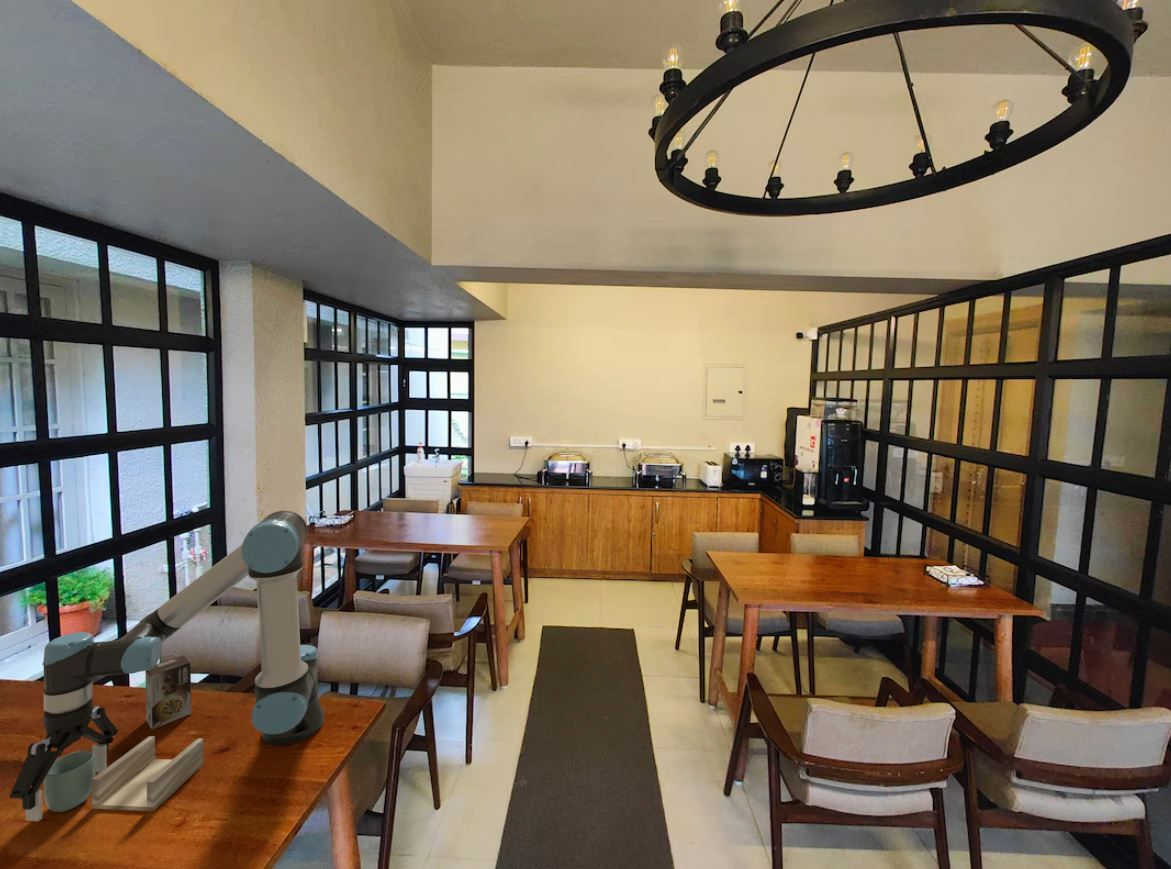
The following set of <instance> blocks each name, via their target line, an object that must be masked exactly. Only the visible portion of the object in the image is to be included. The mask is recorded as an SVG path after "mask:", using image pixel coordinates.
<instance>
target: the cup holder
mask: <svg viewBox="0 0 1171 869" xmlns="http://www.w3.org/2000/svg"><path fill="white" fill-rule="evenodd" d="M155 757H156V737H155V736H147V737H146V738H144V739H143V740H142V741H141V742H140V743H138V744H137V745H135V746H134V747H133V748H131V749H130V750H128V752H126V753H125V754H124V755H122V756H121V757H119V758H118V759H117V760H116V761H114V762H113V763H112V764H110V765H109V766H107V768H106V769H105V770H103V771H102V772H98V774H97V775H95V777H94V778H93V779H92V792H91V809H93V810H94V809H95V810H111V811H112V810H114V811H115V810H116V811H117V810H118V811H119V810H120V811H139V812H140V811H141V812H154V811H155V810H157V808H159V806H161V805H162V804H163V803H164V802H165V801H166V800H167V799H169V797H170V796H172V795H173V794H174V793H175V792H176V791H178V789H179V788H180V787H181V786H182V785H184V784H185V783H186V782H187V781H188V780H189V779H190V778H191V777H192V776H193V775H194V774H195V773H196V772H198V770H200V769H201V768H202V767H203V766H204V738H200V737H199V738H196V739H195V740H194V741H192V742H191V744H190V745H189V744H188V746H187V747H186V748H185V749H183V750H182V751H181V752H180V753H179V754H177V756H175V757H174V758H172V759H164V758H163V759H161V758H160V759H159V758H155Z"/></svg>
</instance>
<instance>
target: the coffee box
mask: <svg viewBox="0 0 1171 869" xmlns="http://www.w3.org/2000/svg"><path fill="white" fill-rule="evenodd" d="M191 669H192V664H191V661H190V660H189V659H188V657H186V656H185V655H181V656H177V657H174V658H172V659H171V658H170V659H168V660H165V661H162V662H158V663H157V664H156V666H155V667H154V668H152V669H150V670H147V671H144V674H145V711H146V713H145V715H146V716H145V717H146V723H147V724H148V726H149V728H150V729H151V730H155V729H157V728H159V727H162V726H165V725H167V724H169V723H172V722H175V721H177V720H179V719H182V718H184V717H186V716H189V715H191V714H192V713H193V712H192V676H191V671H192V670H191Z"/></svg>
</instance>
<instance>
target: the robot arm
mask: <svg viewBox="0 0 1171 869" xmlns="http://www.w3.org/2000/svg"><path fill="white" fill-rule="evenodd" d="M307 535H308V525H307V522H306V520H305V519H304V518H303V517H302V516H301V515H300V514H299V513H297V512H295V511H291V510H279V511H275V512H272V513H269V514H268V515H267V516H266V517H264V518H263V519H262V520H260V522H259V523H257V524H256V525H254V526H253V527H252V528H251V529H250V530H249V531H248V532H247V533H246V536H245V538H243V541H242V544H240V545H239V546H237V547H236V548H235V549H234V550H232V551H231V552H230V553H228V554H227V555H226V556H225V557H224V558H222V559H221V560H220V561H218V562H216V563H215V564H214V565H213V566H211V568H209V569H207V570H206V571H205V572H204V573H203V574H201V575H199V577H197V578H196V579H195V580H193V581H192V582H191V583H189V584H188V585H187V586H185V587H184V588H183V589H182V590H180V591H179V592H177V593H176V594H175V595H173V596H172V597H171V598H169V600H168V599H167V601H165V603H163V604H162V605H160V606H159V607H158V608H157V609H155V610H154V611H153V612H151V613H149V614H147V615H146V616H144V617H143V618H142V619H141V620H140V621H139V622H138V623H137V624H136V625H135V626H133V628H131V629H130V630H129V631H128V632H127V633H125V635H124V636H122V637H120V639H117V640H107V641H106V640H105V641H95V639H94V636H93V634H92V633H90V632H84V631H80V632H73V633H68V634H64V635H62V636H59V637H56V638H54V639H52V640H51V641H49V642H48V643H47V644H46V645H45V646H44V652H43V653H44V654H43V661H42V666H43V710H44V711H43V729H44V730H45V731H46V736H45V738H44V739H43V740H41V741H39V742H32V743H30V744H29V745H28V746H27V747H28V748H27V753H26V754H27V755H26V758H25V760H24V763H23V765H22V767H21V770H20V771H19V773H18V776H17V778H16V780H15V783H14V784H13V787H12V789H11V791H10V794H9V798H10V799H17V800H18V799H19V800H20V799H21V800H22V801H21V806H22V807H21V808H22V810H23V811H24V810H25V822H26V821H28V822H29V821H30V822H40V821H41V820H42V819H43V789H42V788H40V787H41V785H42V784H43V783H44V779H45V777H46V775H47V774H48V772H49V770H50V769H51V767H52V765H53V764H54V762H55V760H57V759H58V757H59V756H61V755H62V754H63V753H64V751H65V750H66V749H68V748H69V747H70V746H71V745H73V744H74V743H76V742H78V741H79V740H81V738H84V739H88V740H90V741H92V742H95V744H94V745H92V746H91V748H92V749H91V751H92V752H93V753H94V755H95V773H101V772H102V771H103V770H105V769H106V768H107V767H108V764H107V755H108V754H109V749H110V748H109V746H110V745H109V744H112V742H114V739H115V738H114V736H117V734H118V733H119V732H118V731H119V730H118V728H117V727H116V726H115V725H114V723H113V722H112V721H111V720H110V718H109V717H108V716H107V714H106V710H105V707H103V706H93V705H94V704H93V703H94V702H93V701H94V700H93V696H94V690H93V683H94V682H93V678H98V677H108V676H118V675H126V674H127V675H129V674H130V675H132V674H136V673H139V672H145V671H147V670H150V669H152V668H154V667H155V666H156V664H158V663H159V660H160V659H161V656H162V652H163V643H164V642H165V641H166V640H167V639H169V638H170V637H171V636H172V635H173V634H175V633H176V632H178V631H179V630H180V629H181V628H182V627H183V626H185V625H186V624H187V623H189V622H190V621H191V620H193V619H194V618H195V617H197V616H198V615H199V614H200V613H201V612H203V611H204V610H206V609H207V608H208V607H210V605H213V603H214V602H215V601H217V600H218V599H220V598H221V597H222V596H224V595H225V594H226V593H227V592H228V591H230V590H231V589H232V588H234V587H235V586H236V585H237V584H239V583H240V582H241V581H243V580H244V579H245V578H246V577H249V578H250V579H251V580H253V581H255V582H256V596H257V597H256V599H257V612H258V613H257V614H258V615H257V616H258V629H259V643H260V644H259V645H260V646H259V647H260V648H259V649H260V664H261V671H260V672H259V673H258V674H257V675H256V677H255V680H254V689H255V690H254V691H255V704H254V706H253V707H252V709H251V711H252V712H251V717H250V718H251V723H252V725H253V727H254V728H255V729H256V731H258V732H261V736H262V740H263V742H265V743H266V744H267V745H270V746H277V747H280V746H288V745H293V744H296V743H299V742H302V741H304V740H306V739H308V738H310V737H311V736H313V735H314V734H315V733H317V732H318V731H319V730H320V729H321V727H322V726H323V724H324V721H325V719H324V718H325V713H324V709H323V707H322V704H321V701H320V698H319V697H318V675H319V674H318V673H319V672H318V670H319V669H318V668H319V664H318V663H319V662H318V660H319V653H318V652H319V651H318V648H317V647H316V646H314V645H310V644H301V636H300V635H301V634H300V618H299V617H300V616H299V614H300V613H299V597H298V577H297V575H298V573H299V572H300V571H301V570H302V569H303V567H304V563H303V562H304V561H303V560H304V558H303V557H304V556H303V544H304V542H305V540H306V538H307ZM91 721H92V722H93V723H94V725H95V726H96V727H97V728H98V730H99V731H100V732H98V731H96V730H95V729H94V728H92V727H89V725H90V722H91ZM319 728H320V729H319ZM316 731H317V732H316ZM312 734H313V735H312ZM309 736H310V737H309ZM307 737H308V738H307ZM52 749H55V750H52Z"/></svg>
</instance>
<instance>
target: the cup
mask: <svg viewBox="0 0 1171 869" xmlns="http://www.w3.org/2000/svg"><path fill="white" fill-rule="evenodd" d="M95 776H96V772H95V755H94V753H93V752H92V750H84V749H83V750H78V751H77V750H76V751H74V752H70V753H68V754H65V755H63V756H61V757H59V758H57V759H56V760H55V762H54V764H53V765H52V767H51V769H50V770H49V772H48V774H47V775H46V777H45V779H44V780H43V793H44V794H43V795H44V801H45V804H46V806H47V808H48V809H49V810H50V811H52V812H55V813H62V812H66V811H67V812H68V811H70V810H72V809H74V808H76V807H78V806H80V805H81V804H82V803H84V802H85V801H86V800H87V799H88V798H89V797H90V795H92V779H93V778H94V777H95Z"/></svg>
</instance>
